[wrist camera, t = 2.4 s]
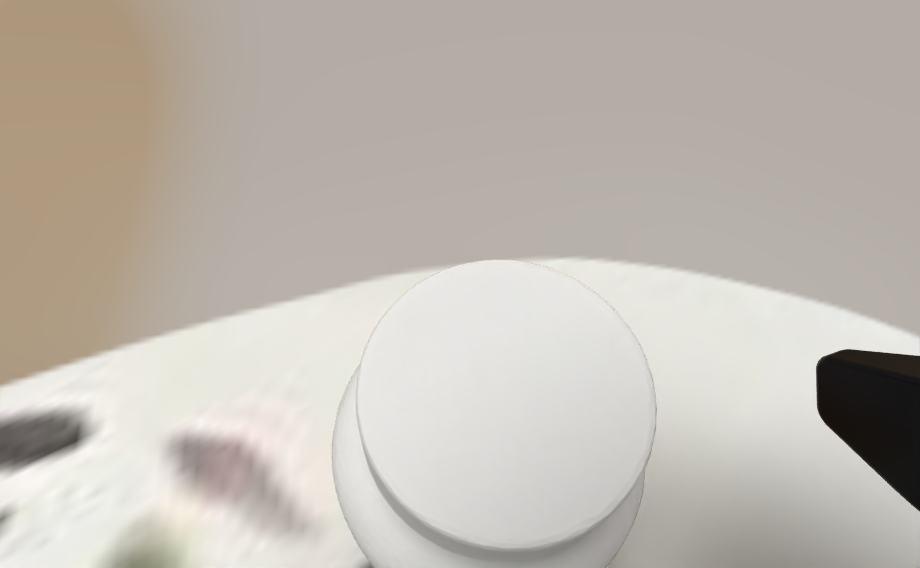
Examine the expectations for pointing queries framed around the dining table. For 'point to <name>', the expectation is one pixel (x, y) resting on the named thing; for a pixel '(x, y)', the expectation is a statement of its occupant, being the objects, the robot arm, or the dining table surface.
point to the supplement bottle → (495, 424)
